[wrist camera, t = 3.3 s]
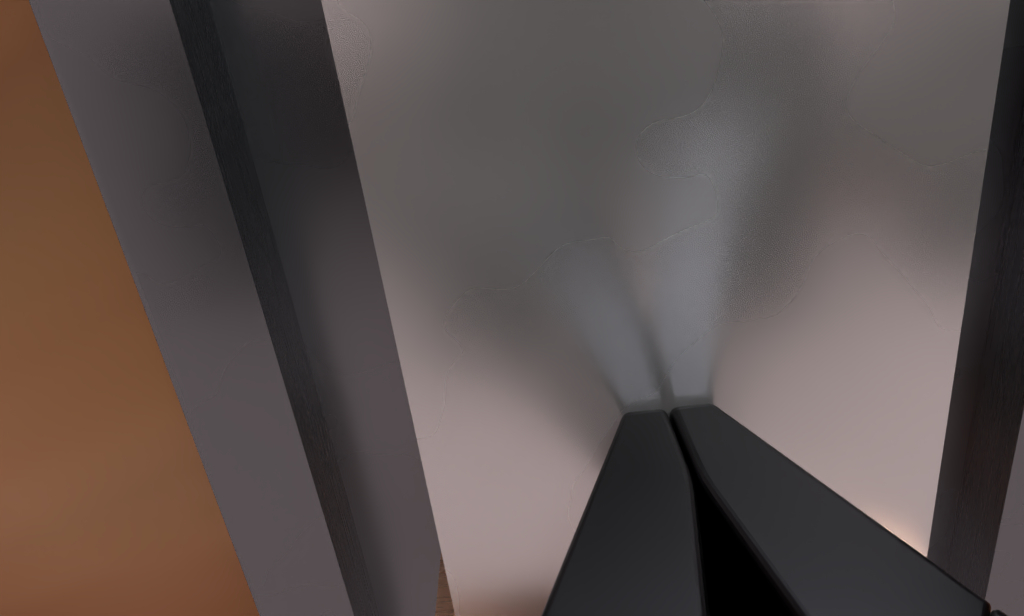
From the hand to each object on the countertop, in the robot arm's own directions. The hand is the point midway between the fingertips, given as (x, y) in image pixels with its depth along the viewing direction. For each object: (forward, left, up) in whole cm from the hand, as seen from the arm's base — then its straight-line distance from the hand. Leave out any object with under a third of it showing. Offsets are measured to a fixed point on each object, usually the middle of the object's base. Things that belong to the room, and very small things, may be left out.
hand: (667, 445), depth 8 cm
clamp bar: (0, -6, -1) cm, 7 cm away
